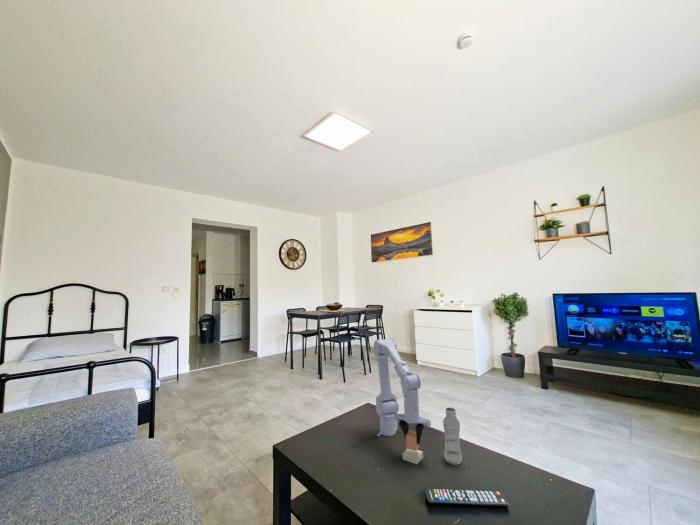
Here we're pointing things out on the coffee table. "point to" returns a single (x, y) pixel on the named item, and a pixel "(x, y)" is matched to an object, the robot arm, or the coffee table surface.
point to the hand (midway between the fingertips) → (412, 442)
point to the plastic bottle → (452, 438)
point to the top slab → (413, 456)
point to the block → (411, 441)
